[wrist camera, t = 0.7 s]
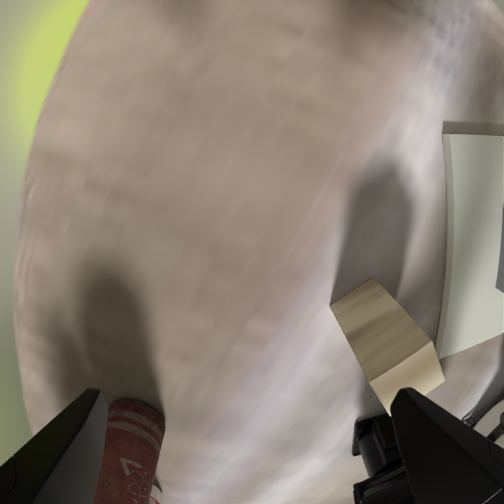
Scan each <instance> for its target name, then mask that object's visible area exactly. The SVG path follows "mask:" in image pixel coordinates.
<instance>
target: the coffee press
mask: <svg viewBox="0 0 504 504" xmlns="http://www.w3.org/2000/svg"><path fill="white" fill-rule="evenodd" d="M463 422H464V423H465V424H467V425H468V426H470V427H471V428H473V429H474V430H476V431H477V432H479V433H480V434H482V435H483V436H485V437H486V438H487V439H489V440H491V441H492V442H494V443H496V444H497V445H499V446H500V447H502V448H504V399H503V400H502V401H501V402H499V403H498V404H497V405H495V406H494V407H493V408H492V409H491V410H490V411H489V412H487V413H486V414H485V415H484V416H483V417H482V418H481V420H480V421H479V422H478V423H476V424H472V423H469V422H466V421H463Z"/></svg>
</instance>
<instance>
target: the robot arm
mask: <svg viewBox="0 0 504 504" xmlns="http://www.w3.org/2000/svg"><path fill="white" fill-rule="evenodd" d="M390 413H391V417H390V416H389V414H385V415H382V416H378V417H375V418H371V419H368V420H364V421H360V422H358V423H356V424H355V427H354V437H353V446H352V455H353V456H358V455H362V458H363V461H364V464H365V467H366V470H367V473H368V476H369V478H368V479H366V480H364V481H362V482H360V483H356V484H354V485H353V486H354V491H353V493H354V501H355V504H504V448H502V447H500V446H499V445H497V444H496V443H494V442H492V441H491V440H489V439H487V438H486V437H485V436H483V435H482V434H480V433H479V432H477V431H476V430H474V429H473V428H471V427H470V426H468V425H467V424H465V423H464V422H462V421H461V420H459V419H458V418H456V417H455V416H453V415H452V414H451V413H449V412H448V411H446V410H445V409H443V408H442V407H440V406H439V405H437V404H436V403H434V402H433V401H431V400H430V399H428V398H427V397H426V396H424V395H423V394H421V393H420V392H418V391H417V390H415V389H414V388H412V387H406V388H401V389H400V390H399V391H398V392H397V394H396V396H395V398H394V399H393V401H392V403H391V405H390ZM107 420H108V406H107V403H106V400H105V397H104V394H103V392H102V390H100V389H95V388H88V389H86V390H85V391H84V392H83V393H82V394H80V395H79V396H78V397H77V398H76V399H75V400H74V401H73V402H72V403H70V404H69V405H68V406H67V407H66V408H65V409H64V410H63V411H62V412H60V413H59V414H58V415H57V416H56V417H55V418H54V419H53V420H51V421H50V422H49V423H48V424H47V425H46V426H45V427H44V428H43V429H42V430H40V431H39V432H38V433H37V434H36V435H35V436H34V437H33V438H32V439H30V440H29V441H28V442H27V443H26V444H25V445H24V446H23V447H22V448H21V449H20V450H18V451H17V452H16V453H15V454H14V455H13V456H12V457H11V458H9V459H8V460H7V461H6V462H5V463H4V464H3V465H1V466H0V504H93V500H94V495H95V490H96V485H97V481H98V476H99V472H100V467H101V463H102V458H103V452H104V443H105V435H106V427H107Z"/></svg>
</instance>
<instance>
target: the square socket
mask: <svg viewBox="0 0 504 504" xmlns="http://www.w3.org/2000/svg"><path fill="white" fill-rule="evenodd" d="M495 288H497V289H498V290H500V291H501V292H503V293H504V208H503V213H502V233H501V246H500V256H499V265H498V273H497V280H496V286H495Z"/></svg>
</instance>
